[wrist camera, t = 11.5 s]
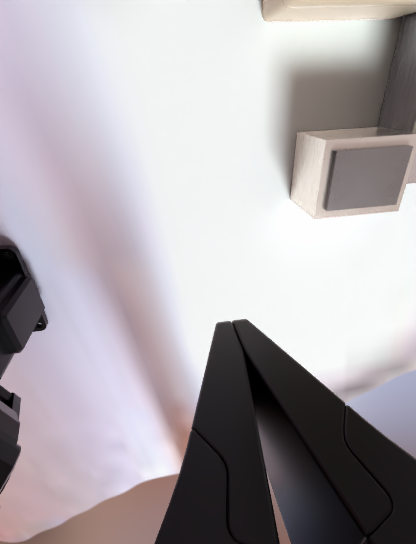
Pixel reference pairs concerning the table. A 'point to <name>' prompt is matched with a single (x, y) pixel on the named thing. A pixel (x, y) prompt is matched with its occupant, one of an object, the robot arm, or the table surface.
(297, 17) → the electrical outlet
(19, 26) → the table surface
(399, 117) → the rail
